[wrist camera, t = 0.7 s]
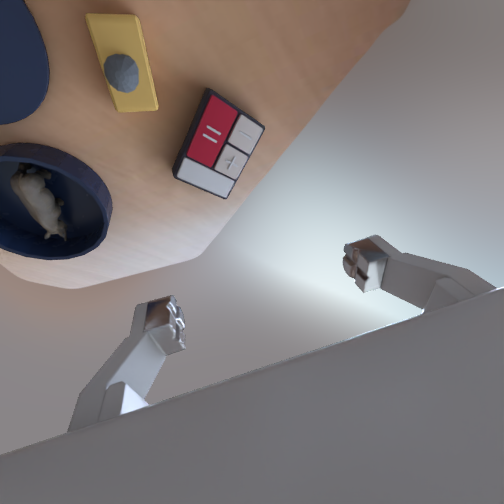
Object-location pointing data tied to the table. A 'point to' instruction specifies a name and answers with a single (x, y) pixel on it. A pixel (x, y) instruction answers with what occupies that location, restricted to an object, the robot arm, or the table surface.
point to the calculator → (217, 145)
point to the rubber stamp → (123, 61)
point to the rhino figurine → (39, 199)
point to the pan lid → (20, 62)
